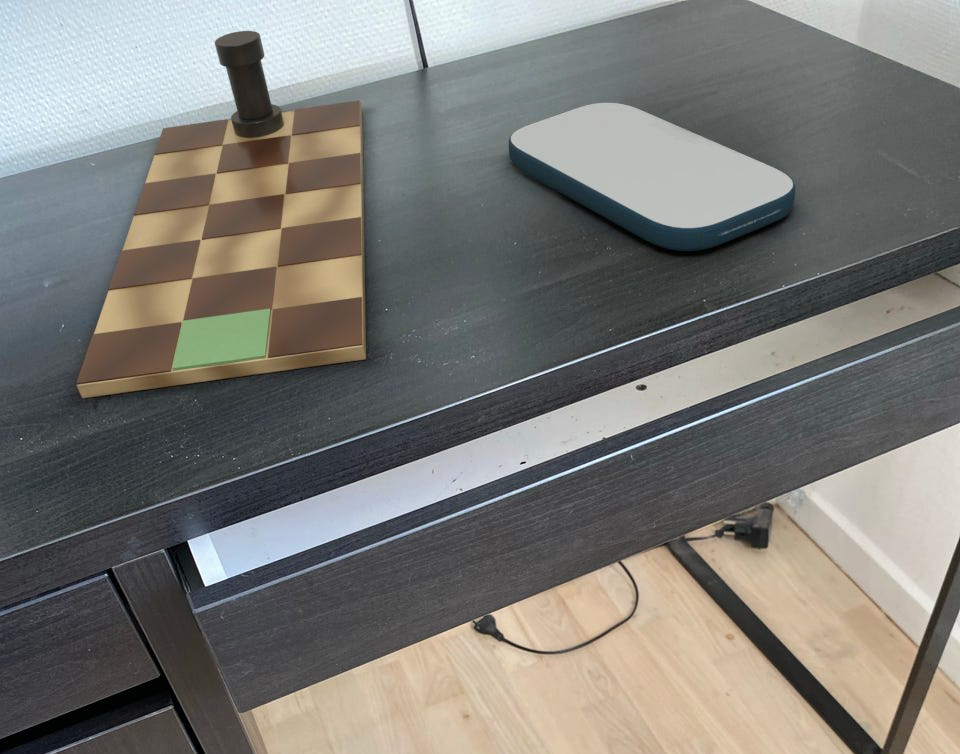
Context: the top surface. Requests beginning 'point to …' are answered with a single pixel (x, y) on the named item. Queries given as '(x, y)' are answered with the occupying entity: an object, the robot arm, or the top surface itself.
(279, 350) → the chessboard
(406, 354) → the top surface
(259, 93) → the rook
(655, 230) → the external hard drive
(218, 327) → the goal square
